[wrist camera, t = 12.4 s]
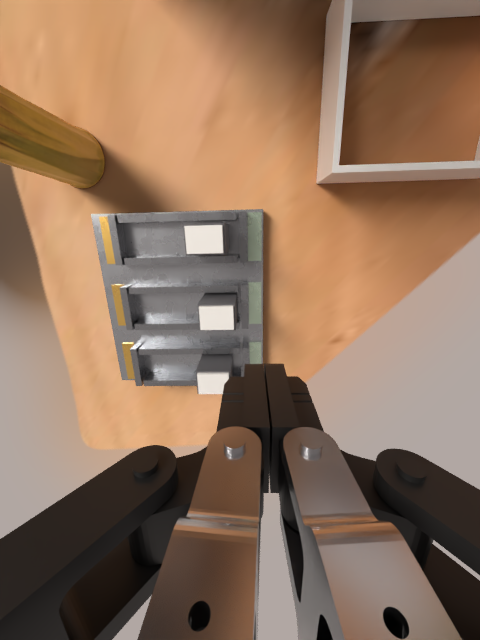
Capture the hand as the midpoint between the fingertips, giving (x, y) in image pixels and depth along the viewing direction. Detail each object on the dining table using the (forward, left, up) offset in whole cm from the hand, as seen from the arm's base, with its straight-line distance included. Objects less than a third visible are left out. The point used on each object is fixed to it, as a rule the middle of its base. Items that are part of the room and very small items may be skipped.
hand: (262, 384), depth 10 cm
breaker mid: (+3, -4, -23) cm, 24 cm away
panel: (+3, -9, -25) cm, 27 cm away
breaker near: (-5, -5, -23) cm, 24 cm away
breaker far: (+11, -5, -23) cm, 26 cm away
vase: (-14, -20, -25) cm, 35 cm away
